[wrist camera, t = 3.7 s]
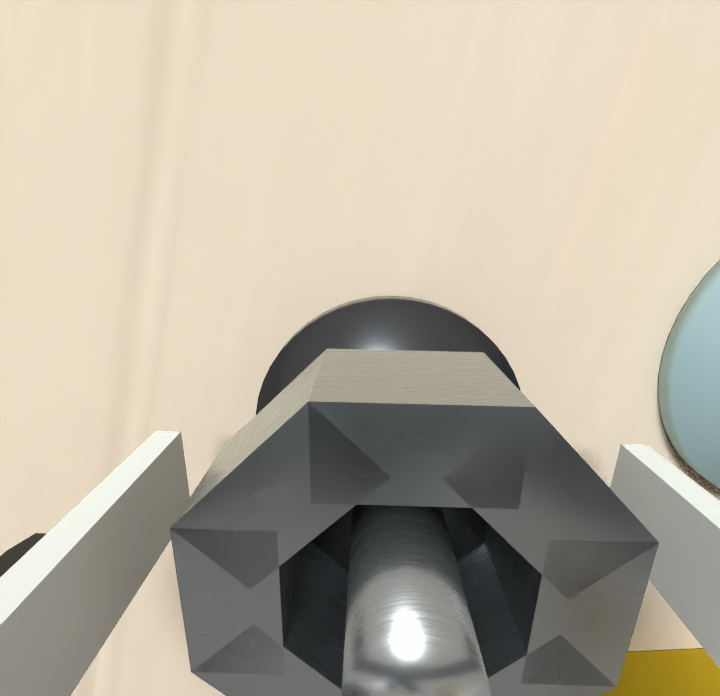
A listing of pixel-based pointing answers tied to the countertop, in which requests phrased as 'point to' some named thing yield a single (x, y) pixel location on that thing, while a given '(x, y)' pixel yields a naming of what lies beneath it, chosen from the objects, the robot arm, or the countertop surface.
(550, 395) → the countertop surface
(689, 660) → the soap bottle
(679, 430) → the peg
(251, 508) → the grey octagonal ring
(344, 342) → the stand
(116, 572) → the robot arm
